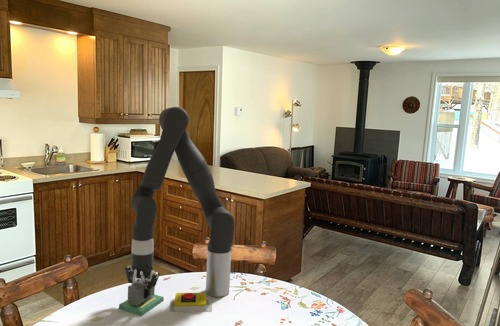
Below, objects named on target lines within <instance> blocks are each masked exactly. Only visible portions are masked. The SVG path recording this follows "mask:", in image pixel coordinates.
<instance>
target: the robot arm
mask: <svg viewBox="0 0 500 326" xmlns="http://www.w3.org/2000/svg"><path fill="white" fill-rule="evenodd" d="M158 122H159V123H158V124H159V126H160V129H161V130H162V131H161V135H160V138H159V140H158V143H157V145H156V147H155V149H154V151H153V152H152V154H151V157H150V158H149V160H148V162H147V165H146V167H145V170H144V173H143V176H142V178H141V181H140V183H139V184H138V187H137V188H136V190H135V192H134V193H133V194H132V199H131V203H130V204H131V208H132V210H133V211H134V212H135V213H136V221H135V222H134V223H133V225H132V241H131V261H130V262H131V264H129V265H127V266H125V267H124V271H125V274H126V279H127V282H128V284H130V285H132V284H134V283H136V282H137V281H139V280H141V279H142V283H144V288H145V289H144V299H147V298H149V296H150V290H151V288H153V287H156V285H157V282H158V280H159V277H160V271H155V270H154V268H153V263H154V250H155V249H154V245H155V241H154V225H155V221H156V218H157V213H158V212H157V210H158V207H157V206H158V205H157V202H156V200H155V199H154V195H155V194H156V191H159V190H160V189H161V187H162V185H163V183H164V179H165V178H166V174H167V171H168V169H169V166H170V163H171V160H172V159H173V158H172V157H173V155H174V153H175V155H176V158H177V160H178V162H179V165H180V167H181V169H182V172H183V174H184V176H185V179H186V181H187V183H188V185H189V186H190V188H191V190H192V192H193V193H194V195H195V196H196V198H197V200H198V202H199V204H200V206H201V208H202V211H203V214H204V217H205V221H206V224H207V225H208V226H209V228H210V234H209V235H210V236H209V237H210V238H209V241H208V242H207V247H206V248H207V250H206V251H207V253H206V254H207V256H206V277H205V278H206V280H205V293H206V295H208V296H209V297H218V298H220V297H226V296H227V295H229V294H230V286H231V285H230V284H231V282H230V281H231V261H232V258H231V257H232V246H233V243H234V236H235V218H234V216H233V214H232V213H231V212H229V211H228V210H227V209H226V208H225V206H224V205H223V203H222V201H221V199H220V198H219V196H218V194H217V190H216V185H215V181H214V177H213V174H212V172H211V169H210V167H209V164H208V163H207V160H206V159H205V157H204V155H203V154H202V153H201V152H200V150H199V149H198V147H196V145H195V144H194V142H193V141H192V139H191V137H190V135H189V132H188V130H187V128H188V125H189V122H190V117H189V114H188V112H187V111H186V110H185V109H184V108H183V107H179V106H171V107H167V108H165V109H163V110H162V111H161V112H160V114H159V117H158ZM146 278H147V279H146ZM147 283H148V285H147Z"/></svg>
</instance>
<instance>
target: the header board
mask: <svg viewBox="0 0 500 326" xmlns="http://www.w3.org/2000/svg"><path fill="white" fill-rule="evenodd" d="M162 302H164V296H161V295H158V294H155V293H154V295H153V296H151V297H150V298H148V299H147V300H145V301H144V302H142V303H140V304H139V305H137V306H136V305H133V304H129V303H128V299H126V300H124V301H123V302H121V303H119V304H118V305H119V307H118V309H119V310H121V311H125V312H128V313H132V314H135V315H138V316H141V317H143V316H145V315H146V314H147V313H149V312H150V311H151V310H153V309H154V308H155V307H157V306H158V305H160V304H161V303H162Z"/></svg>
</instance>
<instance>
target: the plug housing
mask: <svg viewBox="0 0 500 326" xmlns="http://www.w3.org/2000/svg"><path fill="white" fill-rule="evenodd" d="M146 279H147V278H146ZM147 285H148V283H147ZM155 287H156V286H155ZM155 287H153V288H151V290H150V296H149V298H150V297H151V296H153V295H154V294H155V291H156V289H155ZM144 289H145V288H144V283H142V279H141V278H140V280H139V281H137V282H136V283H134V284H129V285H128V286H127V300H128V303H129V304H133V305H136V306H137V305H139V304H140V303H142V302H144V301H145V300H147V299H148V298H147V299H144Z"/></svg>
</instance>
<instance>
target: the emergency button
mask: <svg viewBox="0 0 500 326" xmlns="http://www.w3.org/2000/svg"><path fill="white" fill-rule="evenodd" d="M169 304H170V305H169V312H170V313H193V312H194V313H209V312H212V311H213V300H212V299H211V298H207V293H206V292H177V293H175V297H174V298H171V300H170V303H169Z"/></svg>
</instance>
